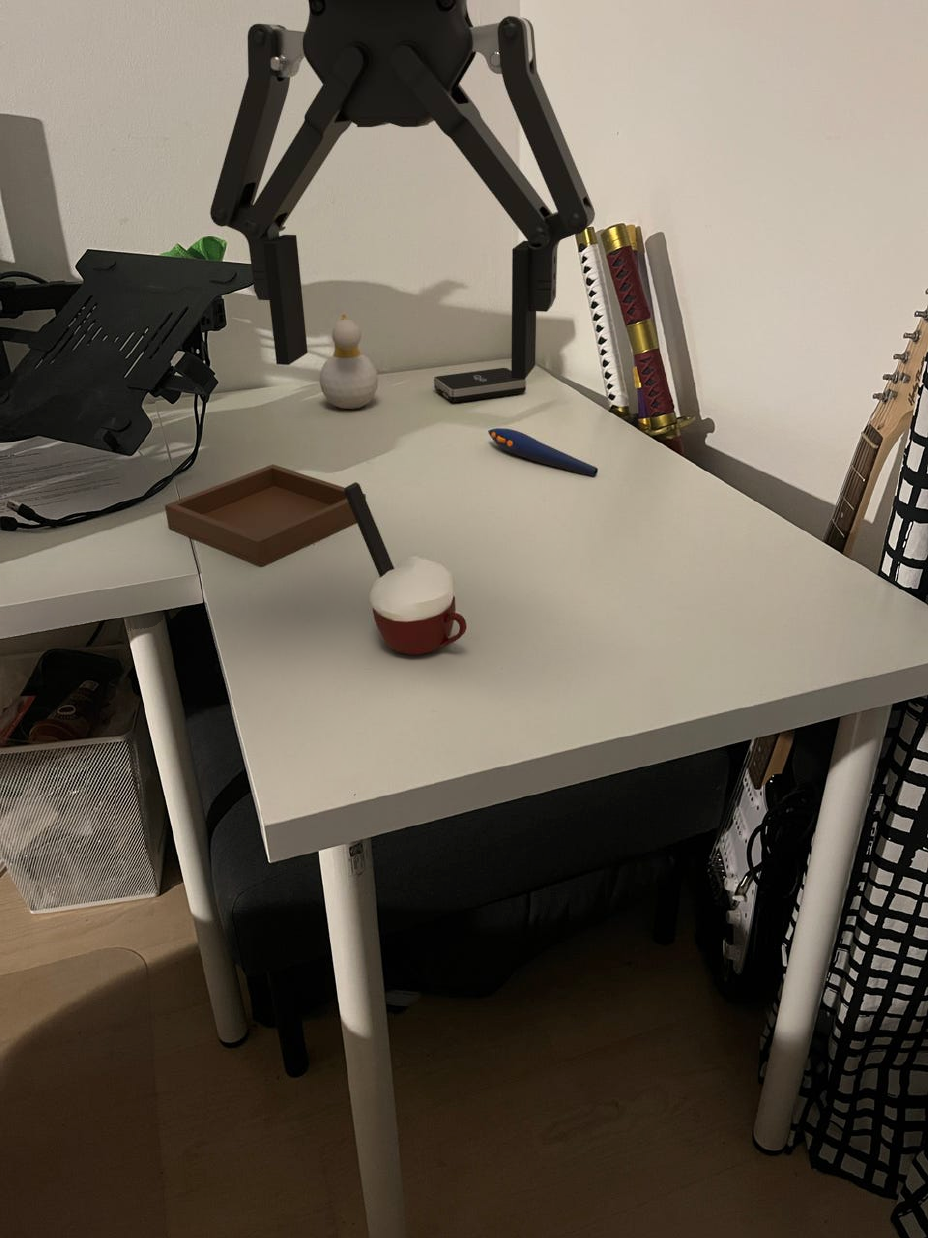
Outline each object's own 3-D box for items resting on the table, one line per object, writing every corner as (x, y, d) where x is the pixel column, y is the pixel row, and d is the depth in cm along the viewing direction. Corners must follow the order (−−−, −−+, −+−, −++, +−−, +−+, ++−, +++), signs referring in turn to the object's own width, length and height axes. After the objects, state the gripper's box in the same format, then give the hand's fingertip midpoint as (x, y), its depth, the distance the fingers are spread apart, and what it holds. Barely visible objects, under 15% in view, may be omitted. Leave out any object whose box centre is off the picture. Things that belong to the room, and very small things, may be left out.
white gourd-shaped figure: (363, 394, 131) (357, 303, 125) (397, 412, 124) (392, 317, 118) (312, 403, 128) (303, 310, 122) (344, 423, 121) (337, 325, 115)
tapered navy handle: (602, 483, 106) (607, 461, 105) (583, 486, 103) (588, 464, 102) (496, 440, 115) (500, 419, 114) (476, 441, 112) (480, 420, 111)
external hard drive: (432, 391, 132) (432, 376, 131) (506, 381, 136) (506, 366, 135) (452, 405, 126) (451, 390, 125) (528, 394, 130) (528, 379, 129)
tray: (261, 567, 86) (257, 541, 85) (168, 528, 94) (164, 504, 93) (367, 517, 96) (365, 494, 94) (275, 486, 103) (272, 463, 102)
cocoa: (480, 655, 73) (479, 508, 67) (409, 681, 70) (400, 530, 64) (415, 605, 80) (409, 468, 74) (348, 627, 77) (335, 486, 71)
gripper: (669, -110, 44) (636, 359, 54) (176, -81, 50) (232, 337, 60) (654, -138, 38) (619, 398, 48) (91, -101, 43) (171, 370, 54)
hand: (404, 365), depth 54 cm, fingers open, 13 cm apart
